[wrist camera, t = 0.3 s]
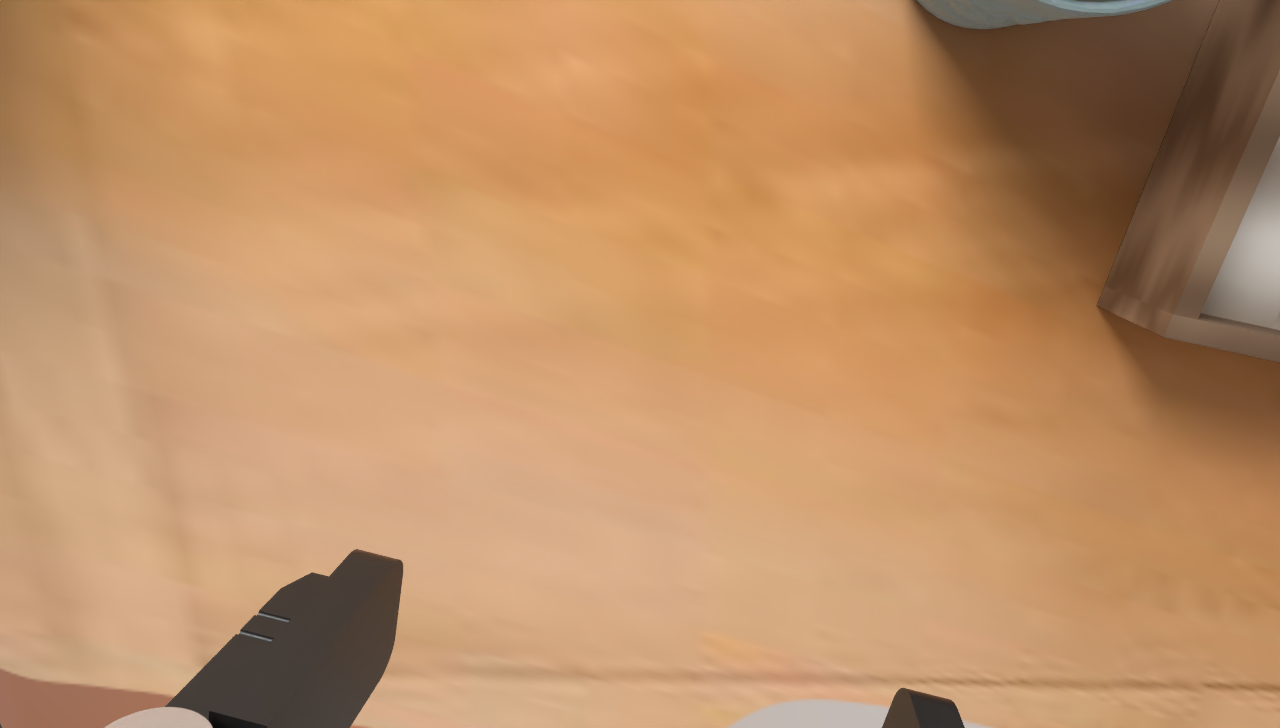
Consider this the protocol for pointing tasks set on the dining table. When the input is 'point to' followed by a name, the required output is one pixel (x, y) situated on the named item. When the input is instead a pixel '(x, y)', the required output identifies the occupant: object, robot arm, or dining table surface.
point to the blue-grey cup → (1028, 10)
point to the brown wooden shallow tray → (1213, 199)
